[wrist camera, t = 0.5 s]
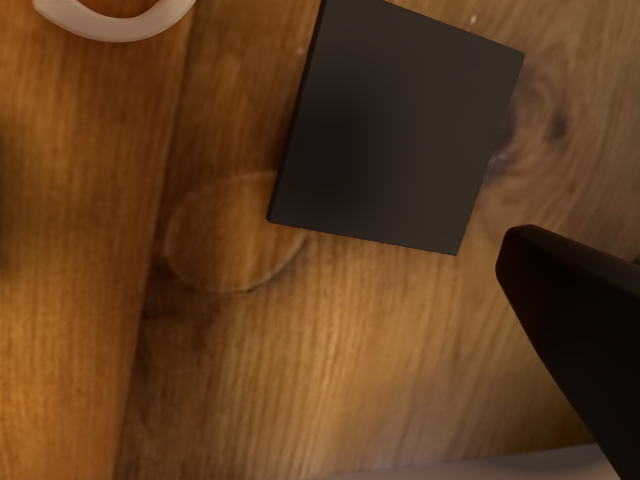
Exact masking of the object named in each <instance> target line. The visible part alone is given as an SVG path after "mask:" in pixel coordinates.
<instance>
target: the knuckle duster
mask: <svg viewBox="0 0 640 480" xmlns="http://www.w3.org/2000/svg"><path fill="white" fill-rule="evenodd" d="M32 1H33V6H34V8H35V10H37V11H38V12H39V13H40V14H41V15H43V16H44V17H45V18H47V19H48V20H50V21H51V22H53V23H54V24H56V25H58V26H59V27H61V28H63V29H65V30H67V31H69V32H72V33H74V34H76V35H79V36H82V37H85V38H89V39H93V40H98V41H104V42H131V41H137V40H141V39H145V38H148V37H151V36H154V35H156V34H158V33H160V32H162V31H164V30H166V29H168V28H169V27H171V26H172V25H174V24H175V23H176V22H177V21H179V20H180V19H181V18H182V17H183V16H184V15H185V14H186V13H187V12H188V11H189V9H190V8H191V7H192V6H193V4H194V3H195V1H196V0H159V1H158V2H157V3H156V4H155V5H154V6H153V7H151V8H150V9H149V10H148V11H146V12H145V13H143V14H141V15H139V16H137V17H133V18H112V17H107V16H104V15H101V14H98V13H96V12H94V11H92V10H90V9H88V8H86V7H85V6H83V5H82V4H81V3H79V2H78V1H77V0H32Z"/></svg>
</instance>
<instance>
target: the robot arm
mask: <svg viewBox="0 0 640 480" xmlns="http://www.w3.org/2000/svg"><path fill="white" fill-rule="evenodd" d="M495 272H496V277H497V280H498V282H499V284H500V286H501V287H502V289H503V291H504V293H505V295H506V297H507V299H508V301H509V303H510V304H511V306H512V308H513V310H514V312H515V314H516V316H517V318H518V319H519V321H520V323H521V325H522V327H523V329H524V331H525V333H526V334H527V336H528V338H529V340H530V342H531V344H532V345H533V347H534V349H535V351H536V353H537V354H538V356H539V357H540V359H541V360H542V362H543V364H544V365H545V367H546V368H547V370H548V371H549V373H550V374H551V376H552V377H553V379H554V380H555V382H556V383H557V385H558V386H559V388H560V389H561V391H562V392H563V394H564V395H565V397H566V398H567V400H568V401H569V403H570V404H571V406H572V407H573V409H574V410H575V411H576V413H577V414H578V416H579V417H580V419H581V420H582V422H583V423H584V425H585V426H586V428H587V429H588V431H589V432H590V434H591V435H592V437H593V438H594V440H595V441H596V443H597V444H598V446H599V447H600V449H601V450H602V452H603V453H604V455H605V456H606V458H607V459H608V461H609V462H610V464H611V465H612V467H613V468H614V470H615V471H616V473H617V474H618V476H619V477H620V479H621V480H640V266H638V265H635V264H633V263H630V262H627V261H625V260H622V259H620V258H617V257H615V256H612V255H610V254H607V253H605V252H602V251H599V250H597V249H594V248H592V247H589V246H587V245H584V244H582V243H579V242H577V241H574V240H572V239H569V238H566V237H564V236H561V235H559V234H556V233H554V232H551V231H549V230H546V229H544V228H541V227H538V226H536V225H532V224H527V225H521V226H516V227H512V228H510V229H508V231H507V232H506V233H505V236H504V239H503V242H502V246H501V249H500V252H499V255H498V259H497V262H496V266H495Z"/></svg>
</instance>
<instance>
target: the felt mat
mask: <svg viewBox="0 0 640 480" xmlns="http://www.w3.org/2000/svg"><path fill="white" fill-rule="evenodd" d="M524 57H525V53H523V52H520V51H518V50H515V49H512V48H510V47H507V46H504V45H502V44H499V43H496V42H494V41H491V40H488V39H485V38H483V37H480V36H477V35H475V34H472V33H469V32H467V31H464V30H461V29H459V28H456V27H453V26H451V25H448V24H445V23H443V22H440V21H437V20H435V19H432V18H429V17H427V16H424V15H421V14H419V13H416V12H413V11H410V10H408V9H405V8H402V7H400V6H397V5H394V4H392V3H389V2H386V1H384V0H322V3H321V7H320V11H319V15H318V19H317V23H316V27H315V30H314V34H313V38H312V42H311V46H310V50H309V54H308V57H307V61H306V65H305V69H304V73H303V77H302V81H301V85H300V88H299V92H298V96H297V100H296V104H295V108H294V112H293V116H292V119H291V123H290V127H289V131H288V135H287V139H286V143H285V147H284V150H283V154H282V158H281V162H280V166H279V170H278V174H277V178H276V181H275V185H274V189H273V193H272V197H271V201H270V205H269V208H268V212H267V216H266V219H267V220H268V221H269V222H270V223H275V224H280V225H286V226H291V227H297V228H303V229H308V230H314V231H319V232H325V233H330V234H336V235H342V236H347V237H353V238H358V239H364V240H370V241H375V242H381V243H386V244H392V245H397V246H403V247H409V248H414V249H420V250H425V251H431V252H437V253H442V254H448V255H453V256H457V254H458V251H459V248H460V245H461V242H462V239H463V236H464V233H465V230H466V227H467V224H468V222H469V219H470V216H471V213H472V210H473V207H474V204H475V201H476V198H477V195H478V192H479V189H480V186H481V183H482V181H483V178H484V175H485V172H486V169H487V166H488V163H489V160H490V157H491V154H492V151H493V148H494V145H495V142H496V139H497V137H498V134H499V131H500V128H501V125H502V122H503V119H504V116H505V113H506V110H507V107H508V104H509V101H510V98H511V96H512V93H513V90H514V87H515V84H516V81H517V78H518V75H519V72H520V69H521V66H522V63H523V60H524Z"/></svg>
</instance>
